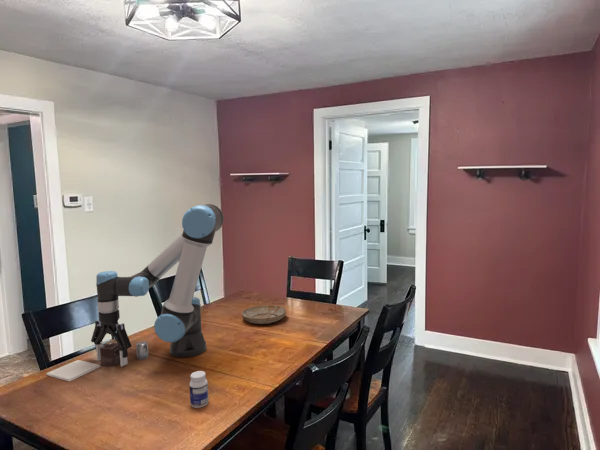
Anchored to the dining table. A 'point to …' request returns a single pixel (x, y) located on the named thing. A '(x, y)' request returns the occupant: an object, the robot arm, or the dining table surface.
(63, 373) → the plate
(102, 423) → the dining table surface
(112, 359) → the box
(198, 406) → the pill bottle
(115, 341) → the walnut cube
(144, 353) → the grey tin
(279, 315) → the ceramic bowl
